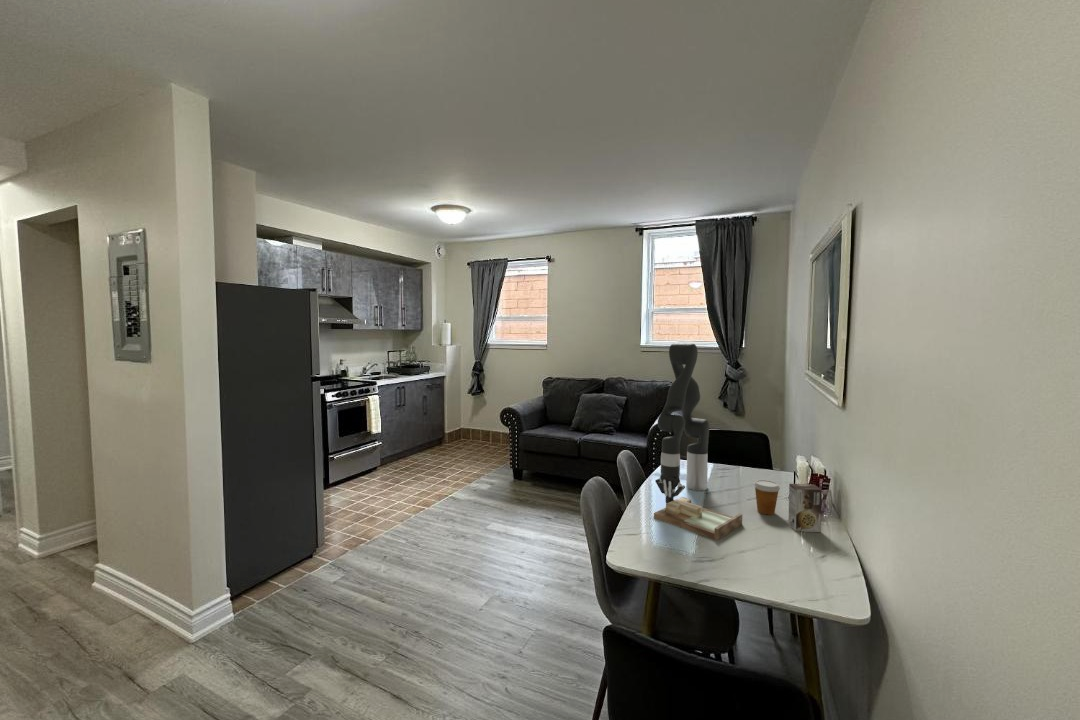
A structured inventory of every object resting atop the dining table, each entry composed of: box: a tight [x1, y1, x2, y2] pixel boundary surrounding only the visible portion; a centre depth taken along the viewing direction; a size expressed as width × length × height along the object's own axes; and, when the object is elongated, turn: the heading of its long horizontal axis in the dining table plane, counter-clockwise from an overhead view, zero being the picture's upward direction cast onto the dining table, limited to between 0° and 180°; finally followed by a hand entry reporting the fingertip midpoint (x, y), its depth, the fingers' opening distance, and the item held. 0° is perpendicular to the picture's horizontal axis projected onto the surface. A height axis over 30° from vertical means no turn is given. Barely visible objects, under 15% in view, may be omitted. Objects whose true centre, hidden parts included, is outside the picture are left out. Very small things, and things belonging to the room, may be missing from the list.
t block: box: [665, 496, 703, 518], centre depth 177 cm, size 12×11×4 cm
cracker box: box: [787, 483, 823, 533], centre depth 167 cm, size 9×6×16 cm
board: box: [653, 506, 743, 541], centre depth 173 cm, size 20×26×4 cm
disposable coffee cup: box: [753, 479, 780, 516], centre depth 183 cm, size 10×10×12 cm
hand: (669, 505), depth 182 cm, fingers closed
